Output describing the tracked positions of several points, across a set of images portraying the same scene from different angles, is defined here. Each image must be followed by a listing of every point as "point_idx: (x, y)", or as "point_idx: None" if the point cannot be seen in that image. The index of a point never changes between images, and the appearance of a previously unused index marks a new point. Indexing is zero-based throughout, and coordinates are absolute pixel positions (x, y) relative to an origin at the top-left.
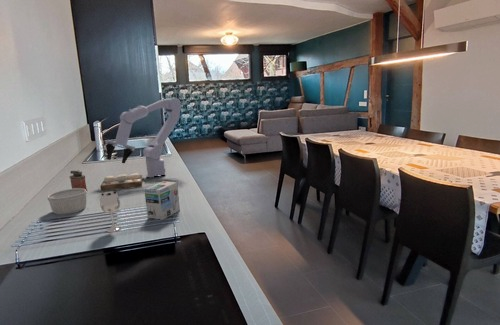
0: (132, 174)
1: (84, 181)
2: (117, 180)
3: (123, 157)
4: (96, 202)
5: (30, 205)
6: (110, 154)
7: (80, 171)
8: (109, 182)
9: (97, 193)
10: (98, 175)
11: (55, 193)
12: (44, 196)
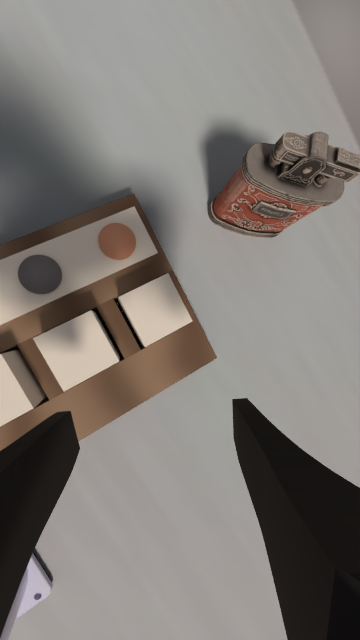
0: (3, 386)
1: (232, 179)
2: (105, 322)
3: (15, 453)
4: (22, 10)
5: (303, 40)
6: (253, 472)
7: (291, 143)
8: (115, 253)
9: (128, 173)
10: None
11: None
12: None
